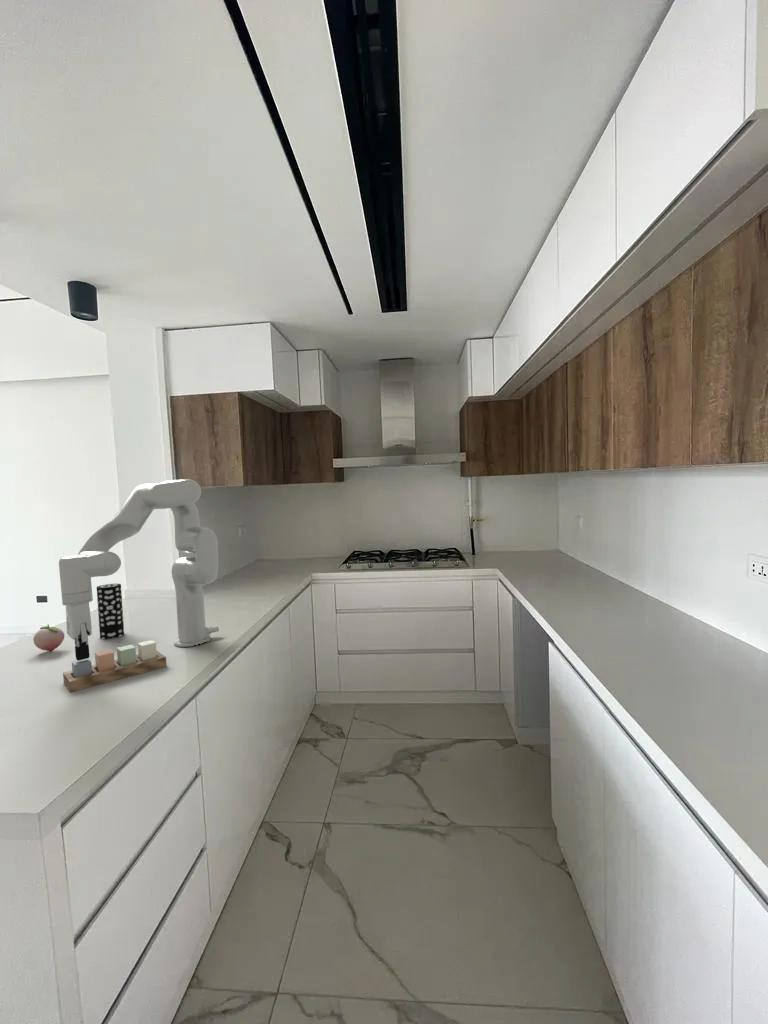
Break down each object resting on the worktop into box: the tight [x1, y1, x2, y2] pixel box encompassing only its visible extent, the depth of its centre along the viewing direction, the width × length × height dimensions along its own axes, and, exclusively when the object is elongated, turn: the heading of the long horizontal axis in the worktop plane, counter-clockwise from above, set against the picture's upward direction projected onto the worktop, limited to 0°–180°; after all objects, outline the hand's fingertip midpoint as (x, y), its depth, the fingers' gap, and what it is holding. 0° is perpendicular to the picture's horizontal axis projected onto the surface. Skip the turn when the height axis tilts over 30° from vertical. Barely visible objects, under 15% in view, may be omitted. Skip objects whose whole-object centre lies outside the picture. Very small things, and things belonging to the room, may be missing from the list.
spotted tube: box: [96, 583, 125, 640], centre depth 186 cm, size 8×8×20 cm
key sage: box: [116, 644, 137, 666], centre depth 148 cm, size 4×4×5 cm
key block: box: [62, 649, 168, 693], centre depth 146 cm, size 26×10×3 cm, turn 133°
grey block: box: [71, 657, 92, 678], centre depth 140 cm, size 4×4×5 cm
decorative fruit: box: [32, 623, 65, 652], centre depth 169 cm, size 9×8×10 cm
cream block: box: [137, 639, 157, 661], centre depth 152 cm, size 4×4×5 cm
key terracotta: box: [94, 649, 115, 672], centre depth 144 cm, size 4×4×5 cm
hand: (82, 658), depth 140 cm, fingers closed
